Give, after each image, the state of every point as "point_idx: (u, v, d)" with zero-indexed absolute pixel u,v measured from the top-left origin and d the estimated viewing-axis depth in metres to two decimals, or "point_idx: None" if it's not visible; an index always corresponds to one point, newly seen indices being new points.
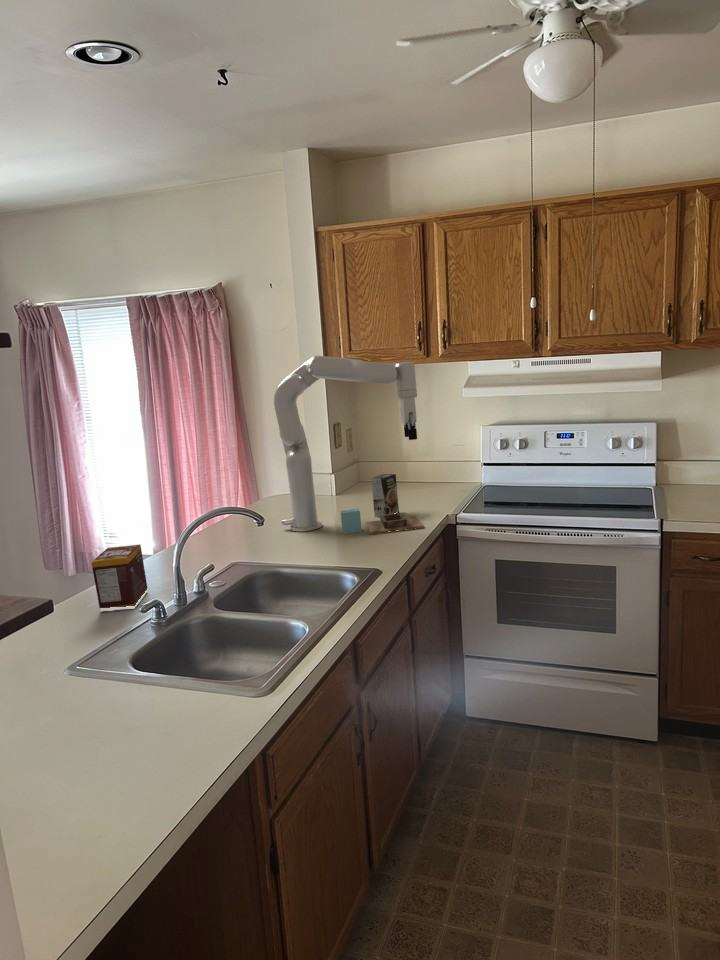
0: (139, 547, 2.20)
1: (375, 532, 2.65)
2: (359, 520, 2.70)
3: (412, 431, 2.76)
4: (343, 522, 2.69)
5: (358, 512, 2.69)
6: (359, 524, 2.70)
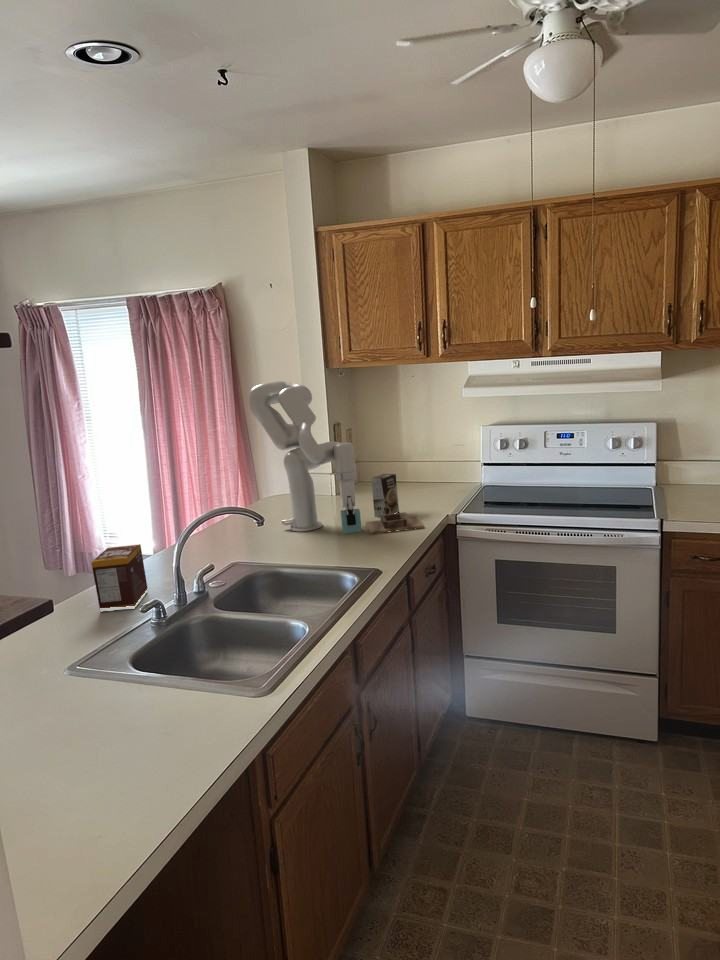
0: (139, 547, 2.20)
1: (375, 532, 2.65)
2: (359, 520, 2.70)
3: (350, 517, 2.68)
4: (343, 522, 2.69)
5: (358, 512, 2.69)
6: (359, 524, 2.70)
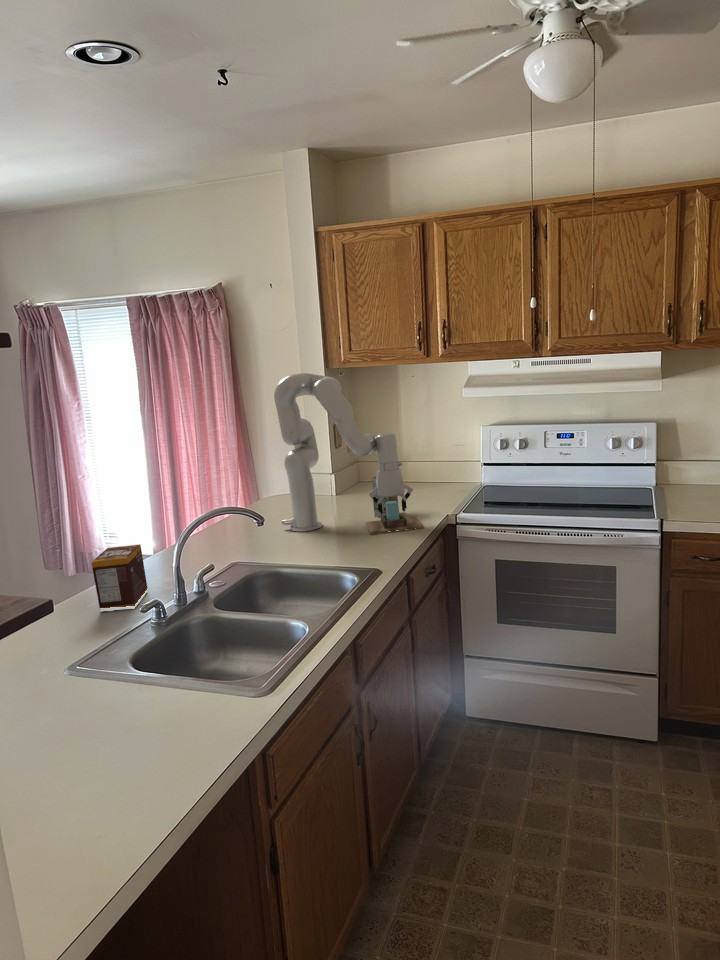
0: (139, 547, 2.20)
1: (375, 532, 2.65)
2: (388, 514, 2.69)
3: (378, 505, 2.71)
4: (386, 511, 2.75)
5: (387, 506, 2.69)
6: (388, 518, 2.70)
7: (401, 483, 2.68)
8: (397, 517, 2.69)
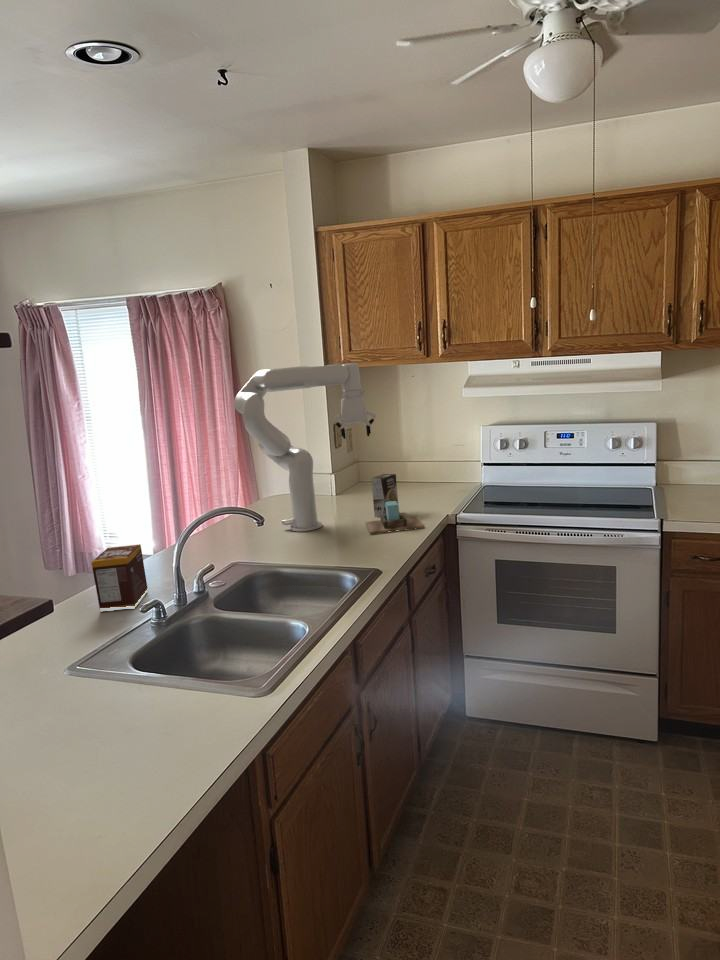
0: (139, 547, 2.20)
1: (375, 532, 2.65)
2: (388, 514, 2.69)
3: (341, 430, 2.89)
4: (386, 511, 2.75)
5: (387, 506, 2.69)
6: (388, 518, 2.70)
7: (364, 410, 2.86)
8: (397, 517, 2.69)
